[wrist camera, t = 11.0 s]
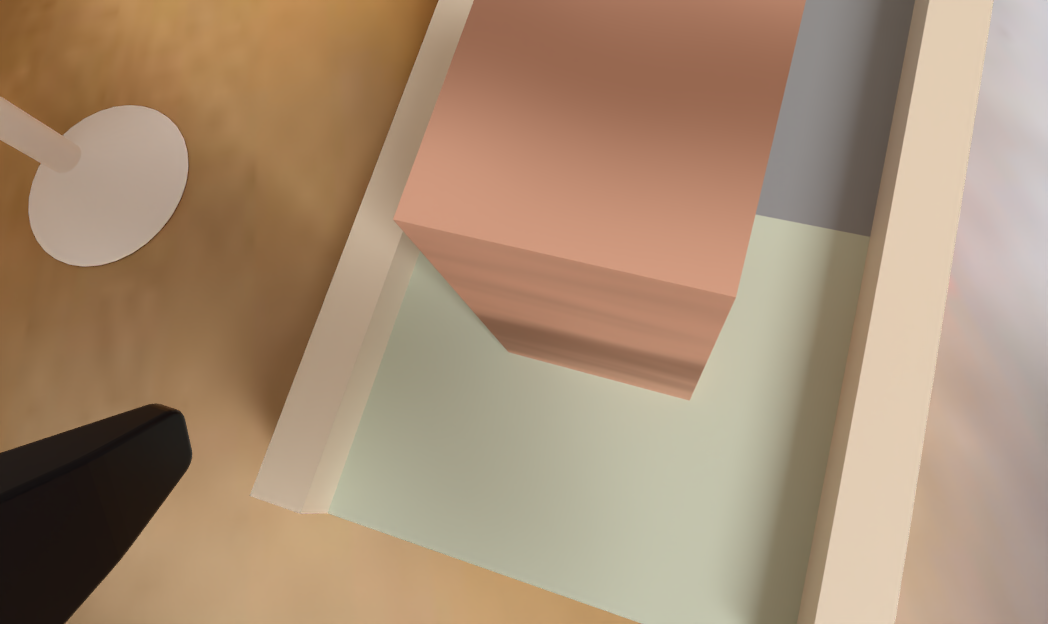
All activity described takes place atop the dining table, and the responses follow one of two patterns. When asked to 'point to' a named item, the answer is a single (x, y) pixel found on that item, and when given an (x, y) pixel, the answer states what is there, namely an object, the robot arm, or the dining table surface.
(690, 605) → the trap board
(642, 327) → the terracotta block
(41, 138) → the champagne flute
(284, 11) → the dining table surface
